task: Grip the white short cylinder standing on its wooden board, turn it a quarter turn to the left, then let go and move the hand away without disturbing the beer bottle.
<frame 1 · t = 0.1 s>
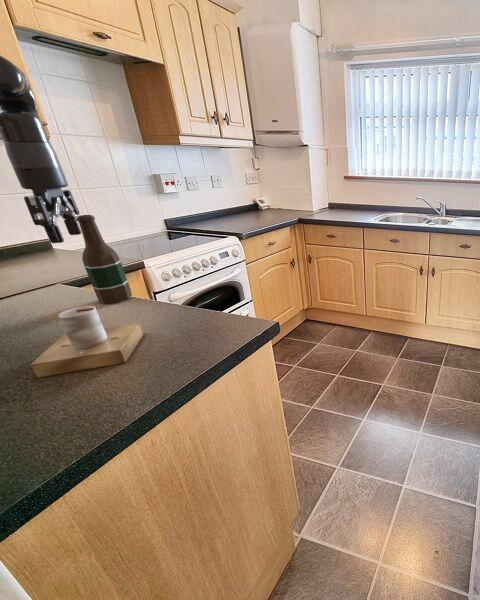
hand: (67, 238, 80), 20 cm above the table, tool pointing down, fingers open, 8 cm apart
wooden board: (95, 354, 71), on the table
white short cylinder: (83, 326, 68), point 7 cm above the table, hinge at 0.0°
beer bottle: (116, 299, 98), on the table
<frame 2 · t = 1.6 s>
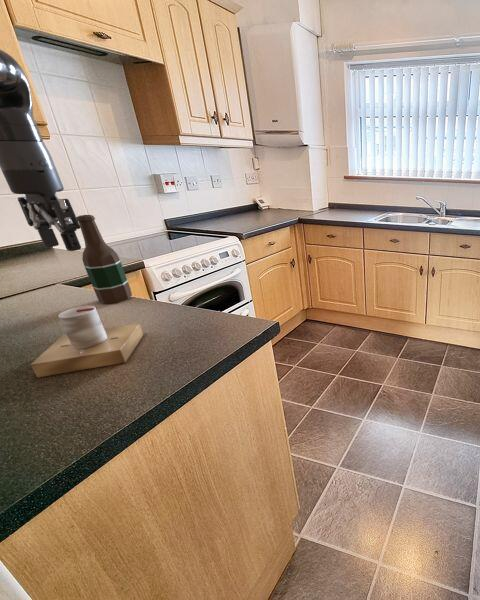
hand: (63, 248, 72), 20 cm above the table, tool pointing down, fingers open, 8 cm apart
nothing on the table moved.
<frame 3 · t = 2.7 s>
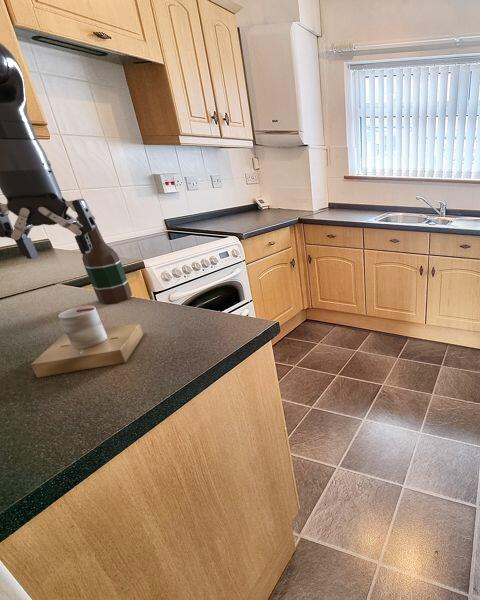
hand: (60, 255, 67), 20 cm above the table, tool pointing down, fingers open, 8 cm apart
nothing on the table moved.
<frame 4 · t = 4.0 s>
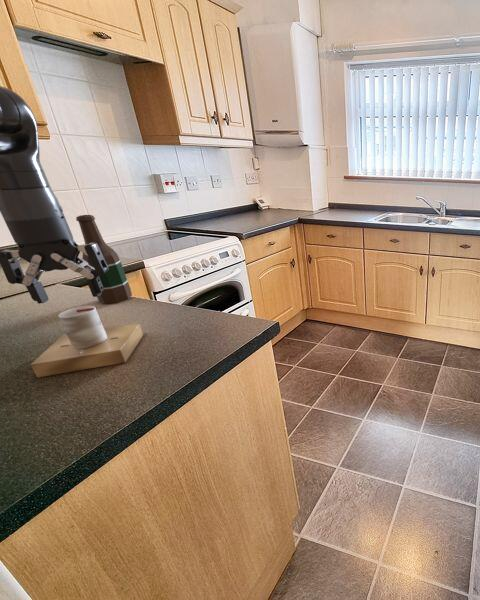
hand: (71, 298, 66), 13 cm above the table, tool pointing down, fingers open, 8 cm apart
nothing on the table moved.
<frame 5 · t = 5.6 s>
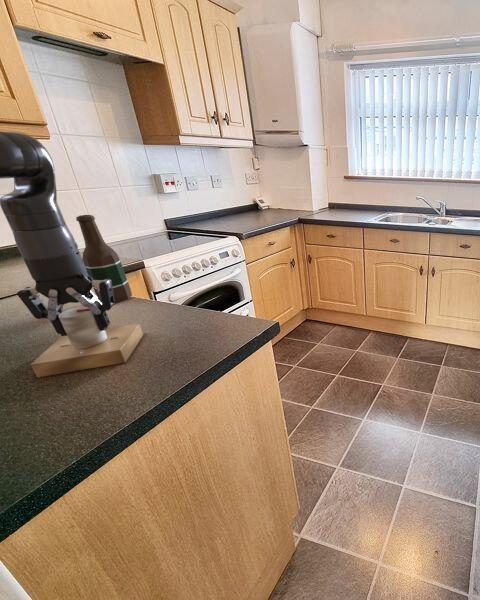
hand: (86, 331, 69), 6 cm above the table, tool pointing down, fingers closed on white short cylinder, 5 cm apart
white short cylinder: (83, 326, 68), point 7 cm above the table, hinge at -0.1°, touching gripper
everything else where it was.
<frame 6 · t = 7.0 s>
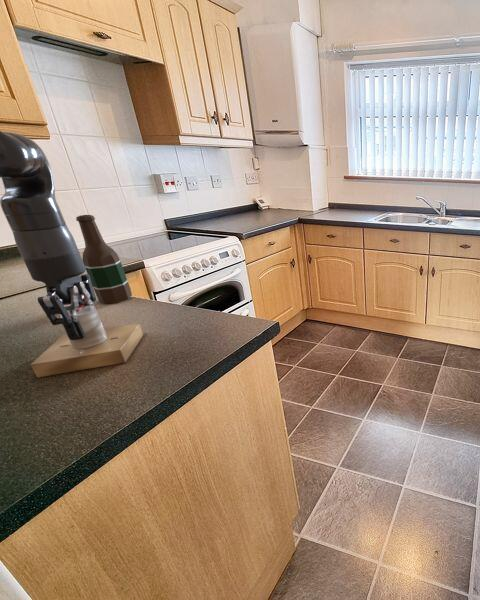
hand: (85, 331, 69), 6 cm above the table, tool pointing down, fingers closed on white short cylinder, 5 cm apart
white short cylinder: (83, 326, 68), point 7 cm above the table, hinge at 89.8°, touching gripper
everything else where it was.
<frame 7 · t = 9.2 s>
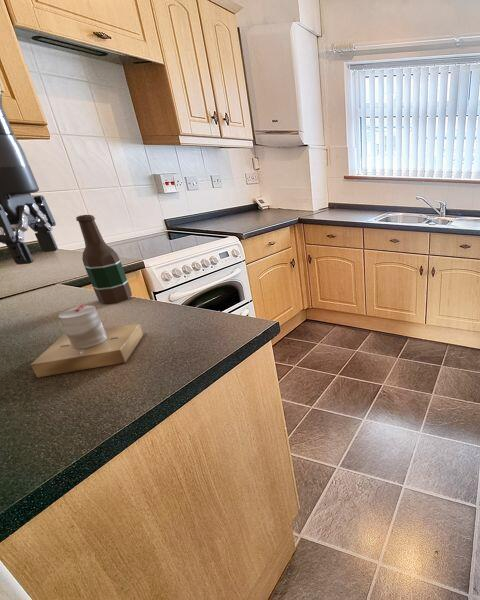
hand: (38, 256, 63), 21 cm above the table, tool pointing down, fingers open, 8 cm apart
white short cylinder: (83, 326, 68), point 7 cm above the table, hinge at 89.9°
everything else where it was.
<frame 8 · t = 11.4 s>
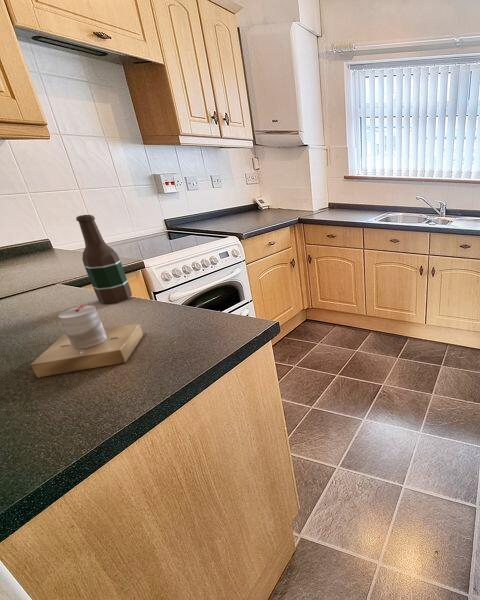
nothing on the table moved.
at the end: white short cylinder at +90° (first picture: +0°); the gripper is holding nothing; beer bottle moved 0.2 cm from its start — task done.
